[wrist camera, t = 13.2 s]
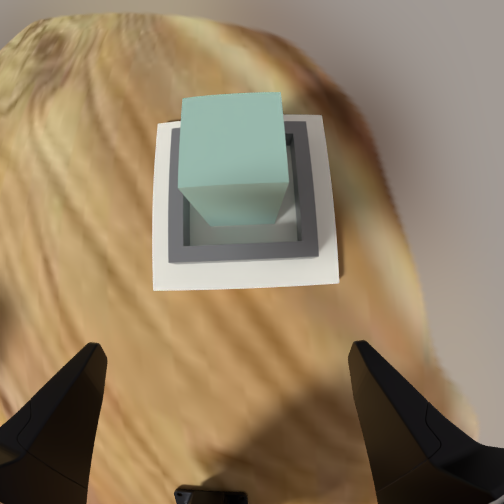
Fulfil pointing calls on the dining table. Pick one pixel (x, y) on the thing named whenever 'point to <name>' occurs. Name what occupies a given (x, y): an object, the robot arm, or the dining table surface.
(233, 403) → the dining table surface
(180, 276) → the white grey square base
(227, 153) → the teal green block
